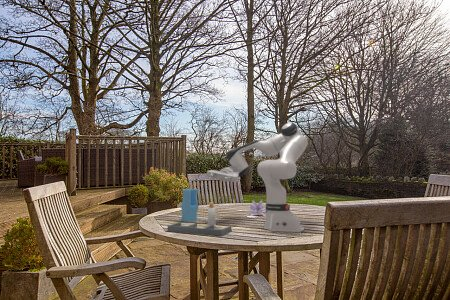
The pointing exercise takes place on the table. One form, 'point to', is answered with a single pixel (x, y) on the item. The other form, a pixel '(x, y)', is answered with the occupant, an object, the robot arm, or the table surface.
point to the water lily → (257, 208)
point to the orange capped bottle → (211, 215)
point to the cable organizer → (199, 229)
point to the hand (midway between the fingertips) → (218, 177)
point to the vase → (189, 205)
